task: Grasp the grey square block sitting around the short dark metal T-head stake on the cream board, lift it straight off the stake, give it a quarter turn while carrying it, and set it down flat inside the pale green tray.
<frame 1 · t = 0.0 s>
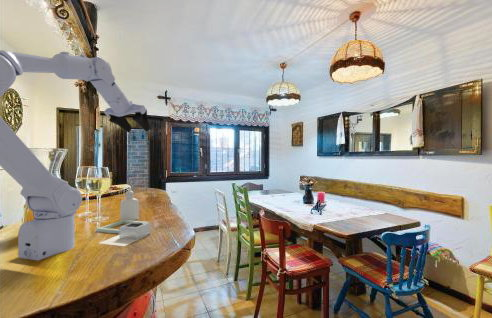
hand: (138, 129, 81), 32 cm above the bar counter, tool tilted 50°, fingers open, 7 cm apart
tray: (123, 230, 71), on the bar counter
board: (123, 243, 61), on the bar counter
grey square block: (135, 235, 63), point 1 cm above the bar counter, touching board
eye dropper bottle: (129, 222, 81), on the bar counter
candy box: (48, 231, 71), on the bar counter
stake: (135, 239, 63), resting on board
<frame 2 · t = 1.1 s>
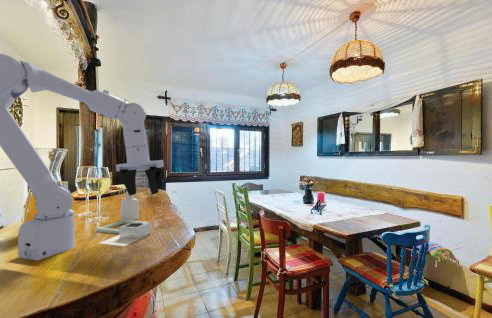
hand: (143, 194, 66), 12 cm above the bar counter, tool pointing down, fingers open, 7 cm apart
nothing on the bar counter moved.
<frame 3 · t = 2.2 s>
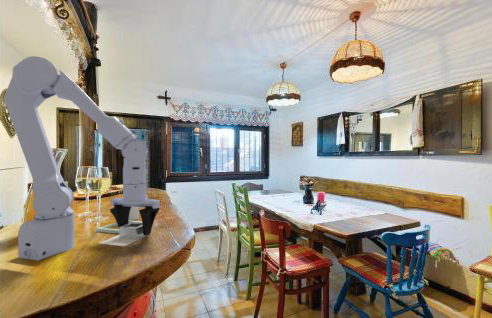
hand: (135, 233, 63), 2 cm above the bar counter, tool pointing down, fingers open, 7 cm apart
nothing on the bar counter moved.
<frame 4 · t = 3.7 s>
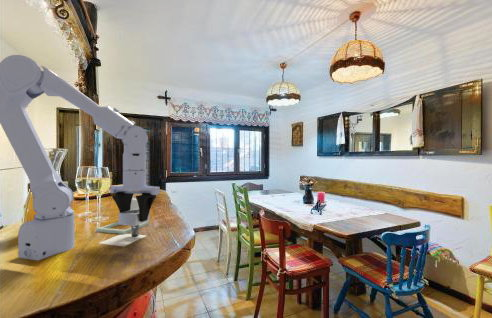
hand: (134, 220, 63), 5 cm above the bar counter, tool pointing down, fingers closed on grey square block, 5 cm apart
grey square block: (134, 222, 63), point 5 cm above the bar counter, touching gripper
everything else where it was.
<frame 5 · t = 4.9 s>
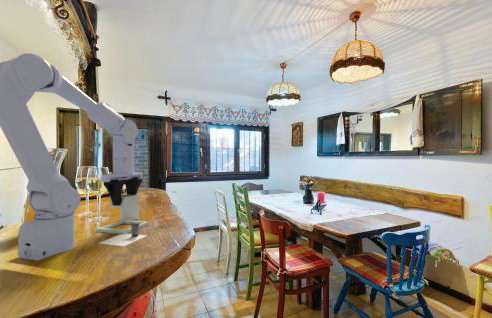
hand: (124, 203, 71), 8 cm above the bar counter, tool pointing down, fingers closed on grey square block, 5 cm apart
grey square block: (124, 205, 71), point 8 cm above the bar counter, touching gripper
everything else where it was.
when the fingers open (3 cm above the bar counter, at t = 6.6 s): grey square block drops 1 cm, resting on tray.
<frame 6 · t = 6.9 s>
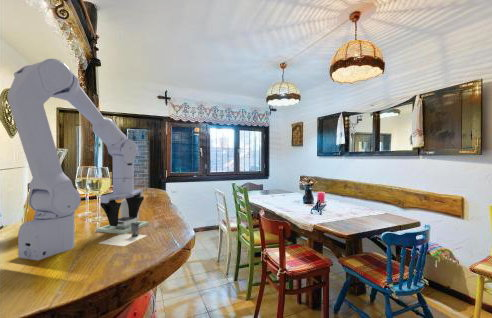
hand: (123, 222, 71), 3 cm above the bar counter, tool pointing down, fingers open, 7 cm apart
grey square block: (123, 228, 71), point 1 cm above the bar counter, touching tray
everything else where it was.
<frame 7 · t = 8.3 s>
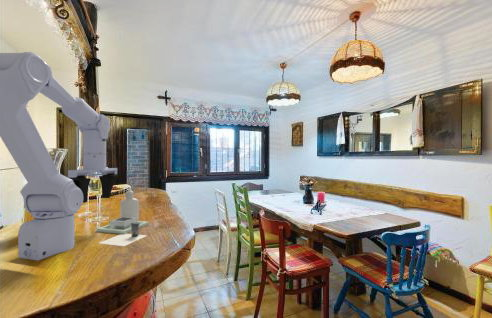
hand: (95, 200, 69), 10 cm above the bar counter, tool pointing down, fingers open, 7 cm apart
nothing on the bar counter moved.
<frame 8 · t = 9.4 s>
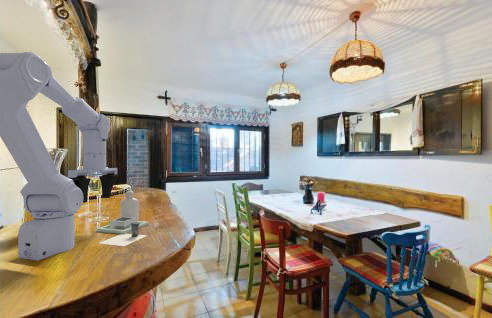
hand: (95, 200, 69), 10 cm above the bar counter, tool pointing down, fingers open, 7 cm apart
nothing on the bar counter moved.
at the end: grey square block 0.0 cm off-centre on the tray, point 0.6 cm above the tray's base; grey square block tilted 0°; the gripper is holding nothing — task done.
